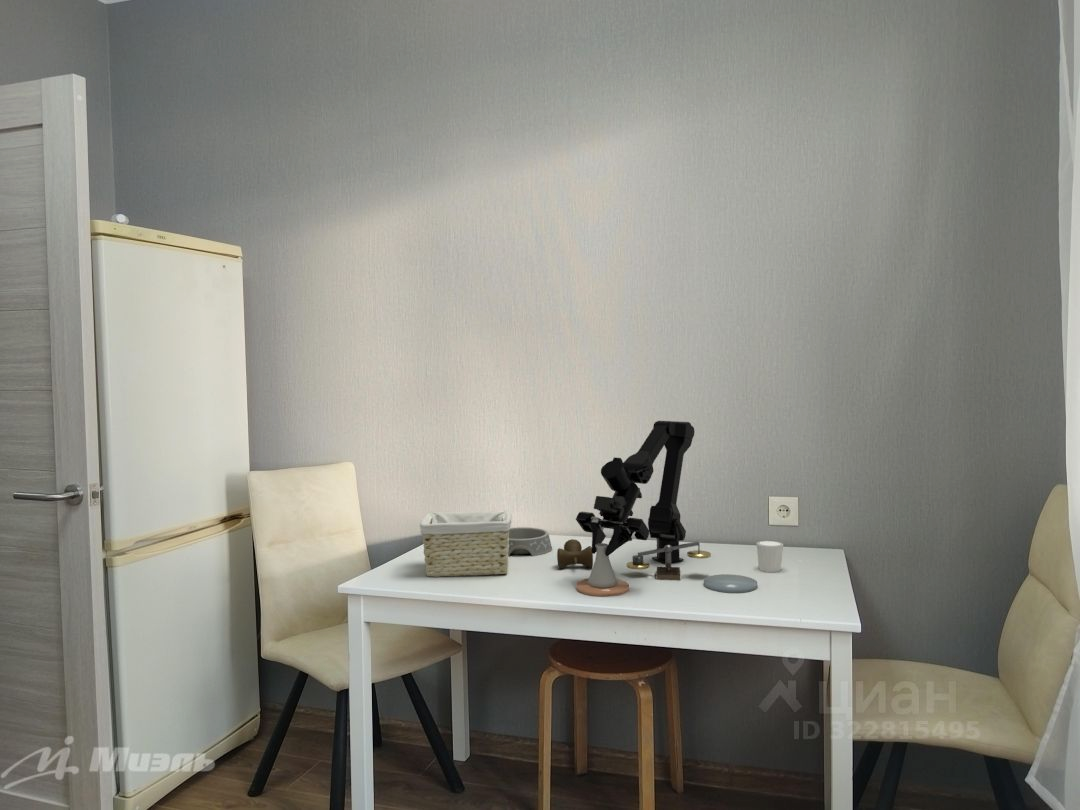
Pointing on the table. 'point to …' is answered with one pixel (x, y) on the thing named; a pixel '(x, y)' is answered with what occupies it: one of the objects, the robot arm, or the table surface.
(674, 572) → the balance
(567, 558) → the kendama
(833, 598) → the table surface
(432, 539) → the storage basket
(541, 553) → the dog bowl
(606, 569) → the flask
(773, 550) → the white cup
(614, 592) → the terracotta dish
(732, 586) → the slate dish
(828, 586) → the table surface
